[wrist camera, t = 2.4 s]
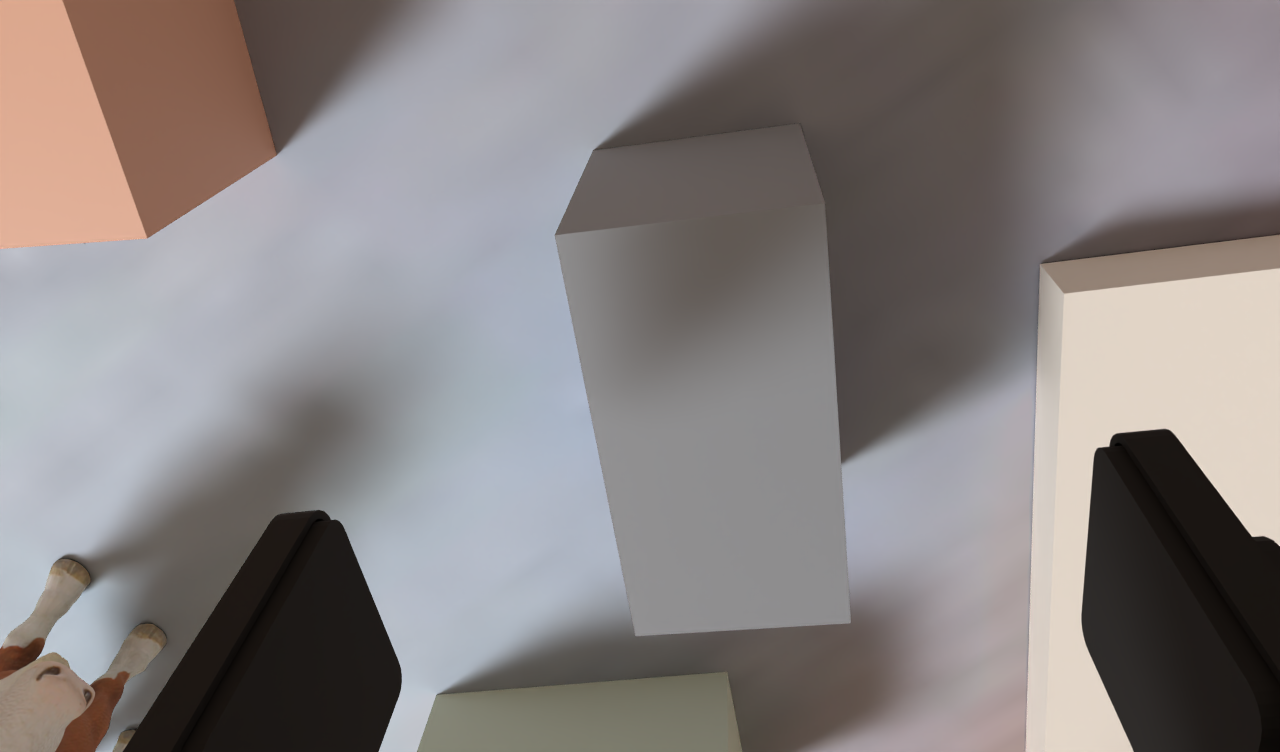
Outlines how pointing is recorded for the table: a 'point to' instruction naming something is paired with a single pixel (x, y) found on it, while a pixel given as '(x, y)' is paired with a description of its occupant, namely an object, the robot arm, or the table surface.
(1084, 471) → the white board
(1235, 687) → the robot arm
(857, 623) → the table surface
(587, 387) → the slate brick
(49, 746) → the bull figurine
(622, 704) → the sage brick
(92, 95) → the terracotta brick
